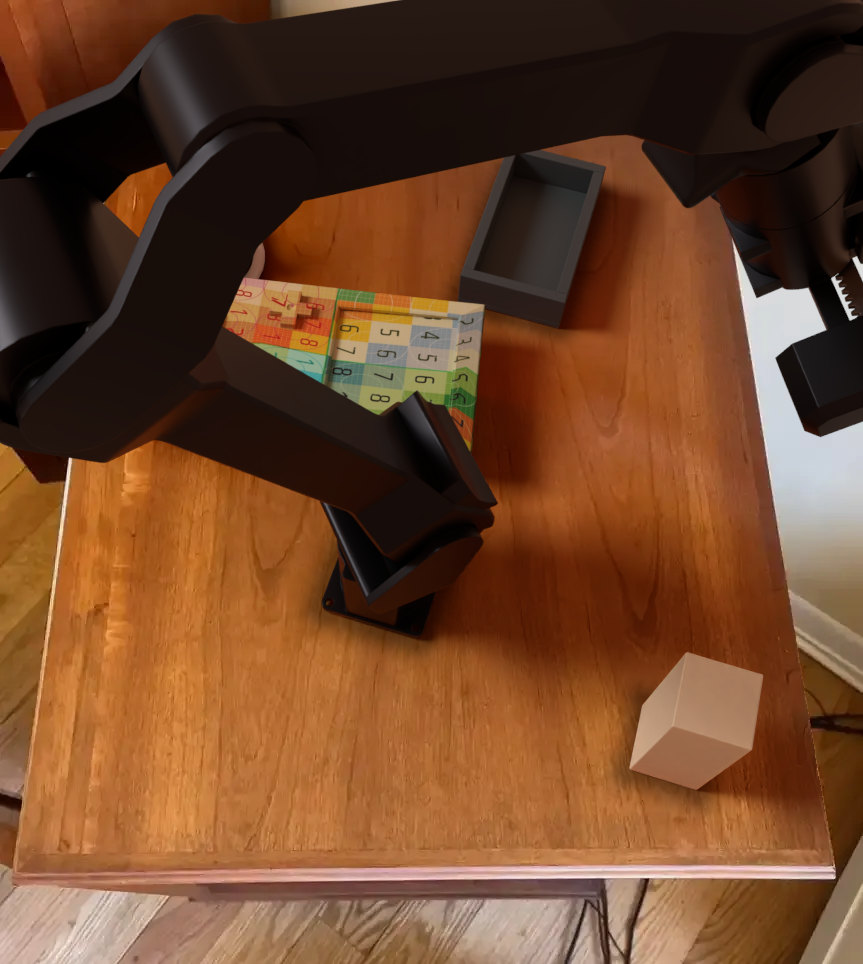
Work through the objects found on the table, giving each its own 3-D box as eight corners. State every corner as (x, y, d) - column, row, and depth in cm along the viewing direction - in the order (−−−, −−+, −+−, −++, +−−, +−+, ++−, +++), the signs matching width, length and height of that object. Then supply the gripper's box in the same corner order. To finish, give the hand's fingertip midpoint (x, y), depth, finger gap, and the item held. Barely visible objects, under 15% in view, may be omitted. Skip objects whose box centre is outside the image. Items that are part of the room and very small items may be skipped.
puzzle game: (192, 265, 69) (486, 296, 68) (203, 308, 73) (480, 337, 72) (152, 412, 63) (472, 446, 63) (166, 449, 67) (467, 481, 67)
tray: (558, 328, 73) (565, 302, 70) (457, 301, 74) (460, 275, 71) (599, 194, 79) (606, 165, 77) (505, 170, 80) (509, 141, 77)
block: (696, 790, 58) (752, 750, 49) (628, 769, 59) (672, 725, 50) (708, 724, 60) (764, 674, 51) (642, 704, 61) (686, 651, 52)
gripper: (1091, 272, 37) (1044, 398, 51) (891, -92, 44) (897, 107, 57) (789, 388, 41) (821, 477, 55) (646, 37, 47) (707, 195, 61)
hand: (815, 306), depth 57 cm, fingers open, 9 cm apart
